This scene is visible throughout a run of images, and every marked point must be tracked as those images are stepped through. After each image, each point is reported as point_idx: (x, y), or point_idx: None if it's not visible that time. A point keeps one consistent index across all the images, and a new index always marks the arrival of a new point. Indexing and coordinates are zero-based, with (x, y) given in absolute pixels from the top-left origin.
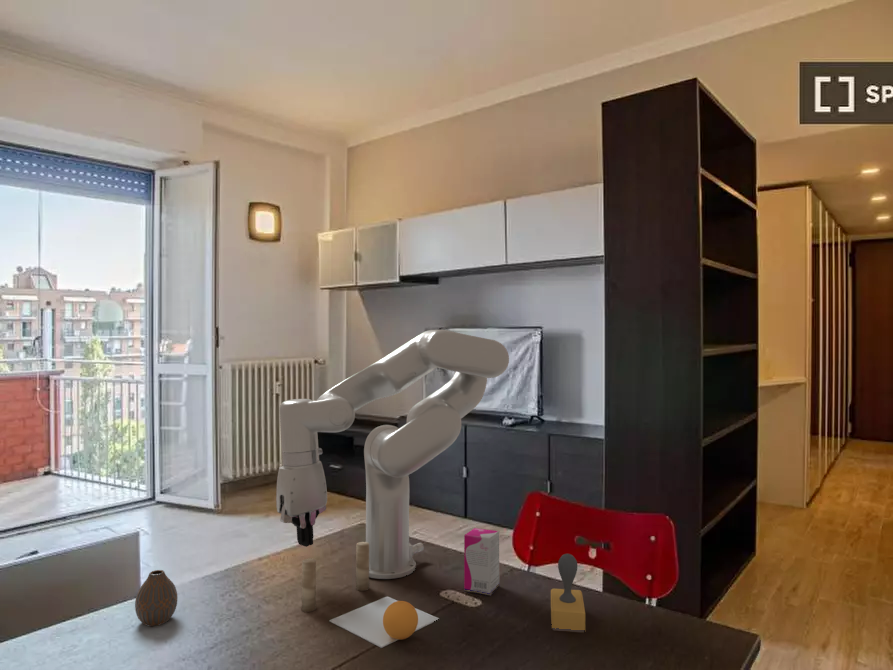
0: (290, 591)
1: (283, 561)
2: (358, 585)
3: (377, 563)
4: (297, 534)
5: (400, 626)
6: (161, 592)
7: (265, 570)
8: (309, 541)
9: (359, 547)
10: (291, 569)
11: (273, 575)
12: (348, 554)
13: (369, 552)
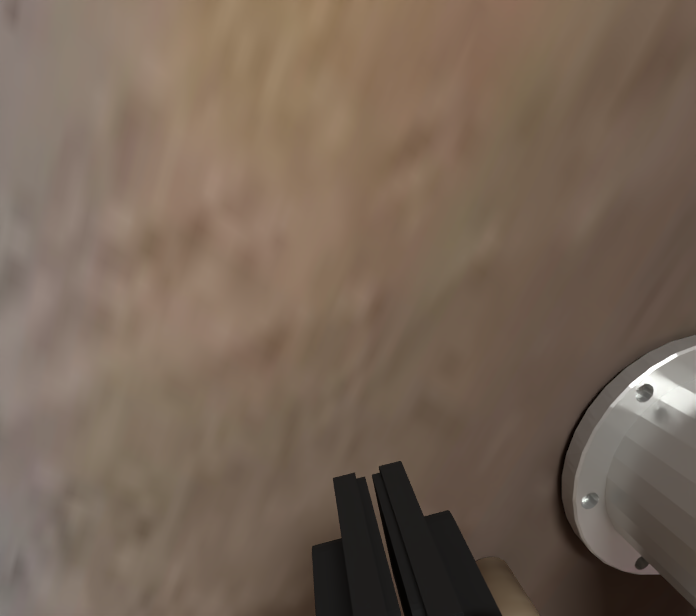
0: (209, 484)
1: (334, 17)
2: None
3: (639, 551)
4: (317, 608)
5: None
6: None
7: (170, 110)
8: (398, 591)
9: None
10: (323, 200)
11: (193, 231)
12: (681, 170)
13: (674, 543)
